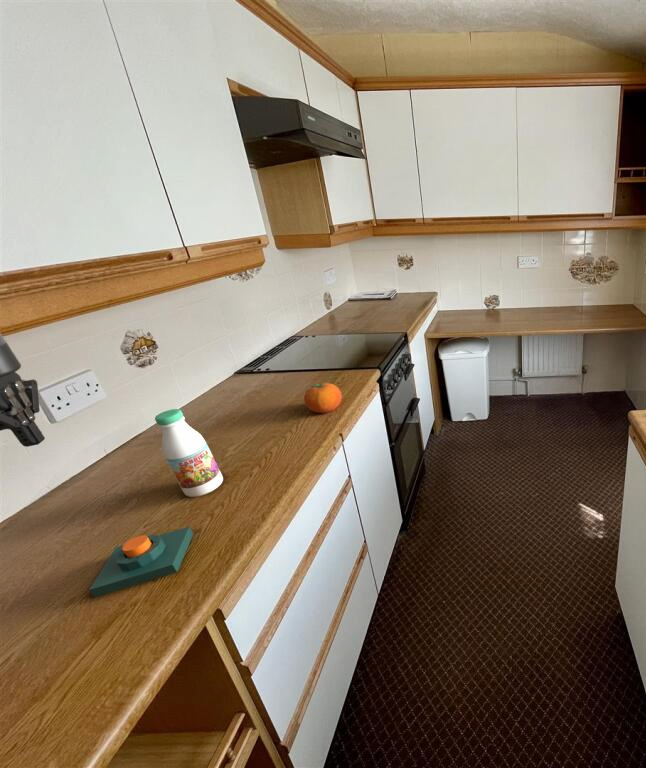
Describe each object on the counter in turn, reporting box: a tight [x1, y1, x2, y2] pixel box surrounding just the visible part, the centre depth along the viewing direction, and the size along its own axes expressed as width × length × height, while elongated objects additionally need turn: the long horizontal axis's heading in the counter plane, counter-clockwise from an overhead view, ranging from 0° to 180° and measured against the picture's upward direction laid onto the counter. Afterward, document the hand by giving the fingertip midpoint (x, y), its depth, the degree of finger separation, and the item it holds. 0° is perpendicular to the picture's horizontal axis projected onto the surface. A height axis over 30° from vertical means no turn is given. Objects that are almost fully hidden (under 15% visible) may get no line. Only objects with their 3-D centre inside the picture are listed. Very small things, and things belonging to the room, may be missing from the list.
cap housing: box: [88, 526, 194, 598], centre depth 75 cm, size 12×10×4 cm
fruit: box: [303, 382, 343, 414], centre depth 125 cm, size 11×10×8 cm
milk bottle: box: [154, 408, 224, 498], centre depth 91 cm, size 8×8×20 cm
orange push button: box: [122, 535, 152, 558], centre depth 74 cm, size 4×4×2 cm
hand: (35, 443), depth 69 cm, fingers closed
